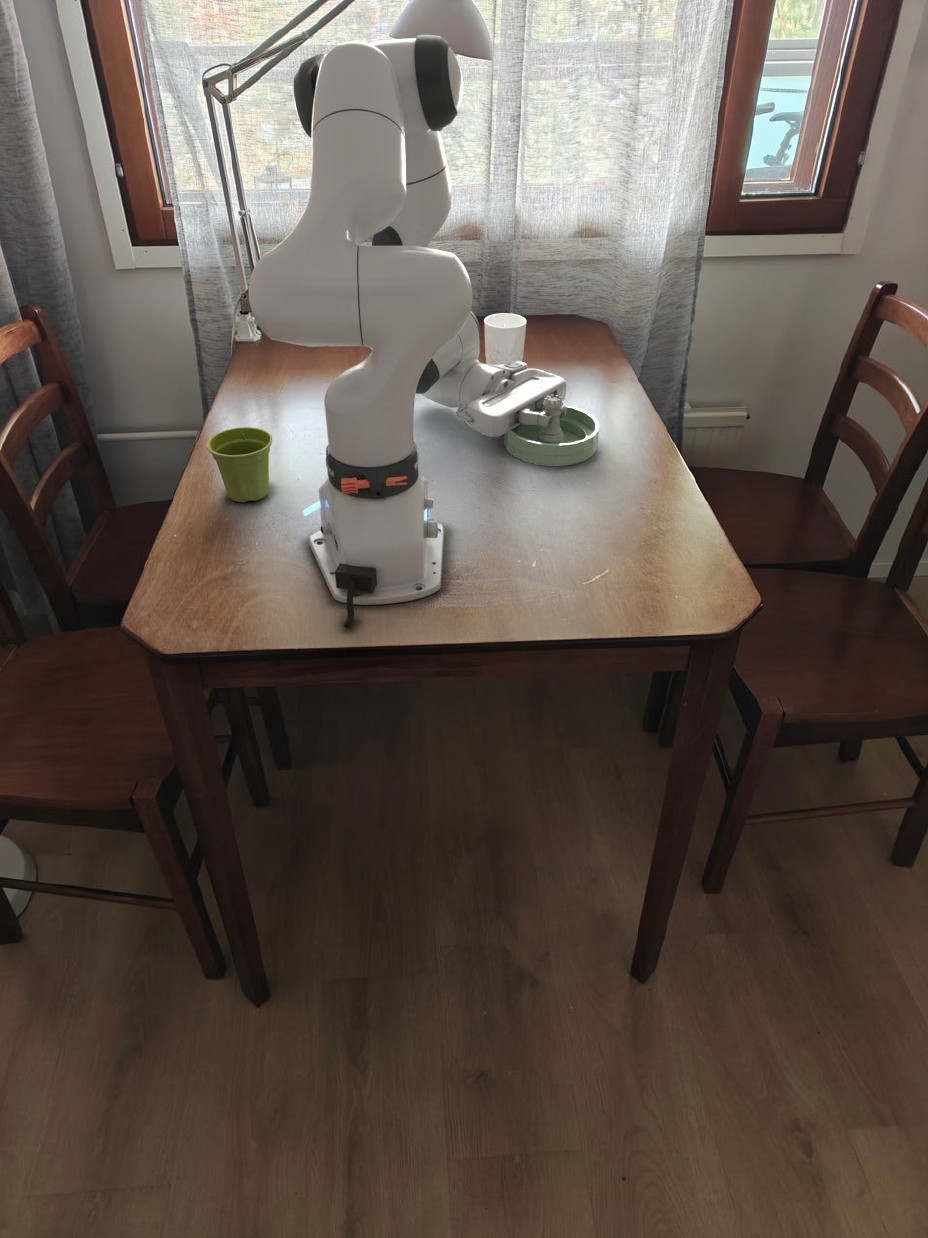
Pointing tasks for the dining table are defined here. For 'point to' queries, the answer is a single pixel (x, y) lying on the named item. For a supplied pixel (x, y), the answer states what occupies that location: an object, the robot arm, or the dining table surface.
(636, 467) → the dining table surface
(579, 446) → the bowl
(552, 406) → the rook chess piece
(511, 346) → the white cup
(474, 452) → the dining table surface
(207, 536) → the dining table surface
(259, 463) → the plant pot
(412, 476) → the robot arm
